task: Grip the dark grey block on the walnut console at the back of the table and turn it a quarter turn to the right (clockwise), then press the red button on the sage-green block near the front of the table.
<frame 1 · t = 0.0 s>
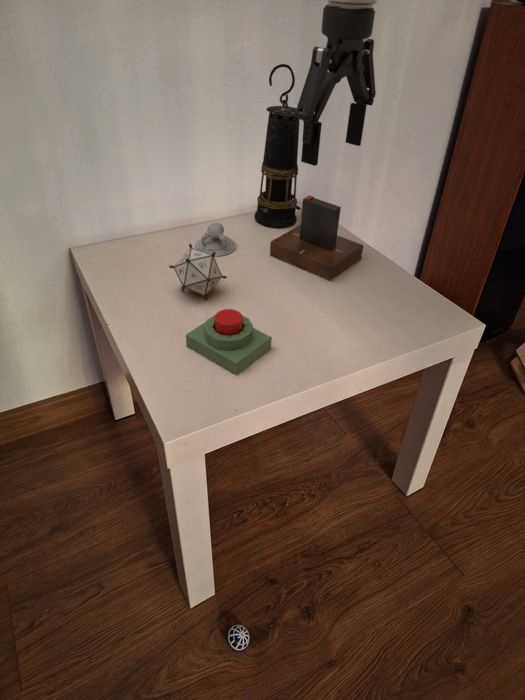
hand: (332, 153, 90), 20 cm above the table, tool pointing down, fingers open, 13 cm apart
miniature: (215, 247, 105), on the table
dark grey block: (319, 222, 98), point 7 cm above the table, hinge at 0.0°
game die: (199, 293, 92), on the table
lantern: (275, 220, 115), on the table
button block: (228, 347, 80), on the table
console: (315, 257, 103), on the table
button: (228, 322, 77), point 5 cm above the table, slide at 0.1 cm
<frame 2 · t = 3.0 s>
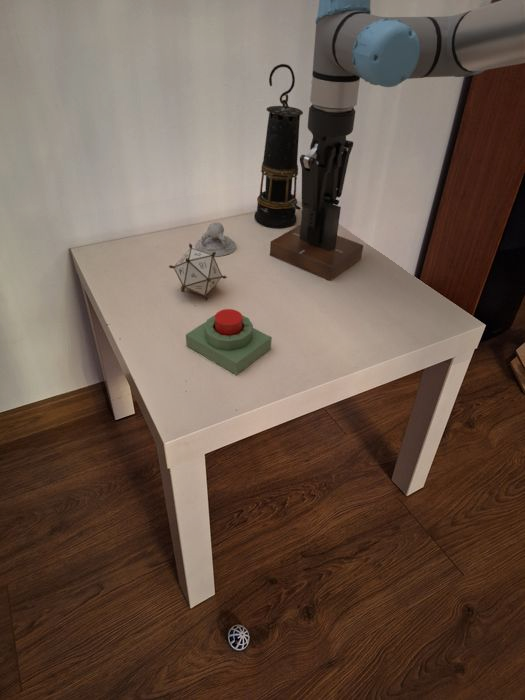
hand: (317, 238, 100), 4 cm above the table, tool pointing down, fingers closed on dark grey block, 2 cm apart
dark grey block: (319, 222, 98), point 7 cm above the table, hinge at 0.0°, touching gripper
everything else where it was.
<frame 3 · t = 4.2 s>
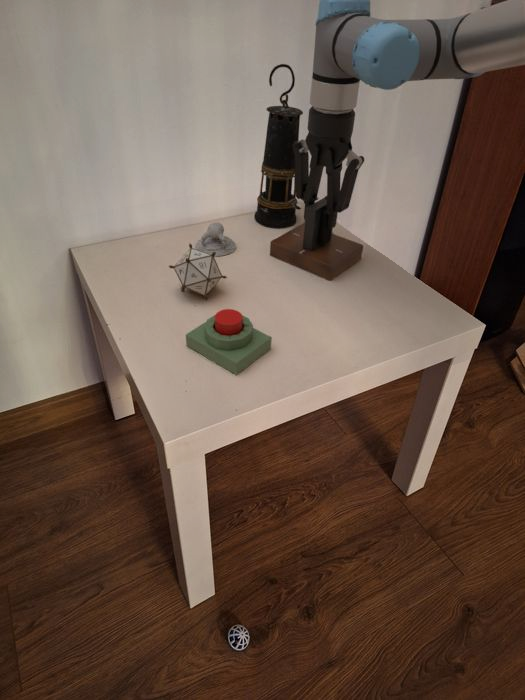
hand: (317, 239, 100), 4 cm above the table, tool pointing down, fingers open, 2 cm apart
dark grey block: (319, 222, 98), point 7 cm above the table, hinge at -89.4°
everything else where it was.
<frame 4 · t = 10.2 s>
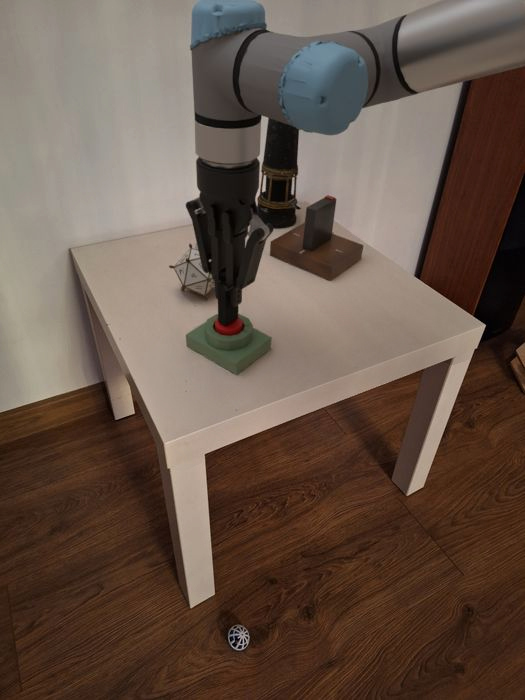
hand: (228, 320, 77), 5 cm above the table, tool pointing down, fingers closed
button: (228, 327, 78), point 4 cm above the table, slide at -0.8 cm, touching gripper
everything else where it was.
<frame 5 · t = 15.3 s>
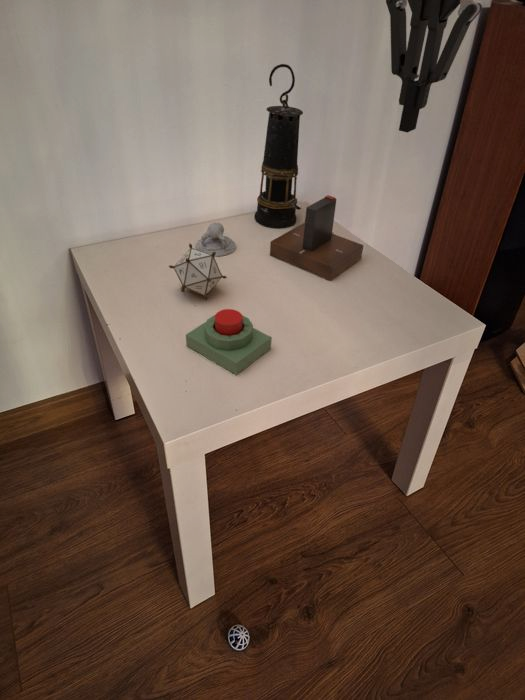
hand: (407, 129, 81), 26 cm above the table, tool pointing down, fingers closed
button: (228, 322, 77), point 5 cm above the table, slide at 0.1 cm
everything else where it was.
at the end: dark grey block at -89° (first picture: +0°); button pushed in 1.0 cm at the most during the clip, back to where it started at the end; button slide at 0.1 cm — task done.
